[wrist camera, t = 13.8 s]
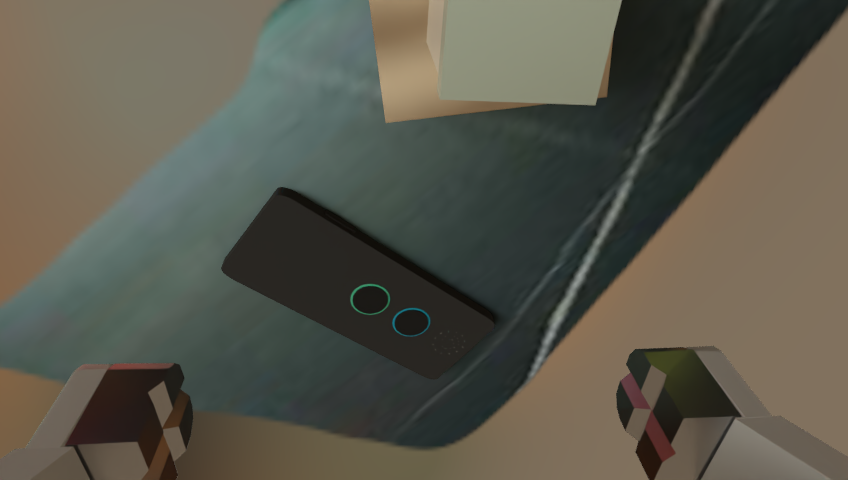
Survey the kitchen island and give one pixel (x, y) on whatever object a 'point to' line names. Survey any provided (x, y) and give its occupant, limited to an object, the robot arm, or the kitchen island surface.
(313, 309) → the smart home device
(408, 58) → the oak block
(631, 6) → the kitchen island surface
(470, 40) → the cream tea tin
